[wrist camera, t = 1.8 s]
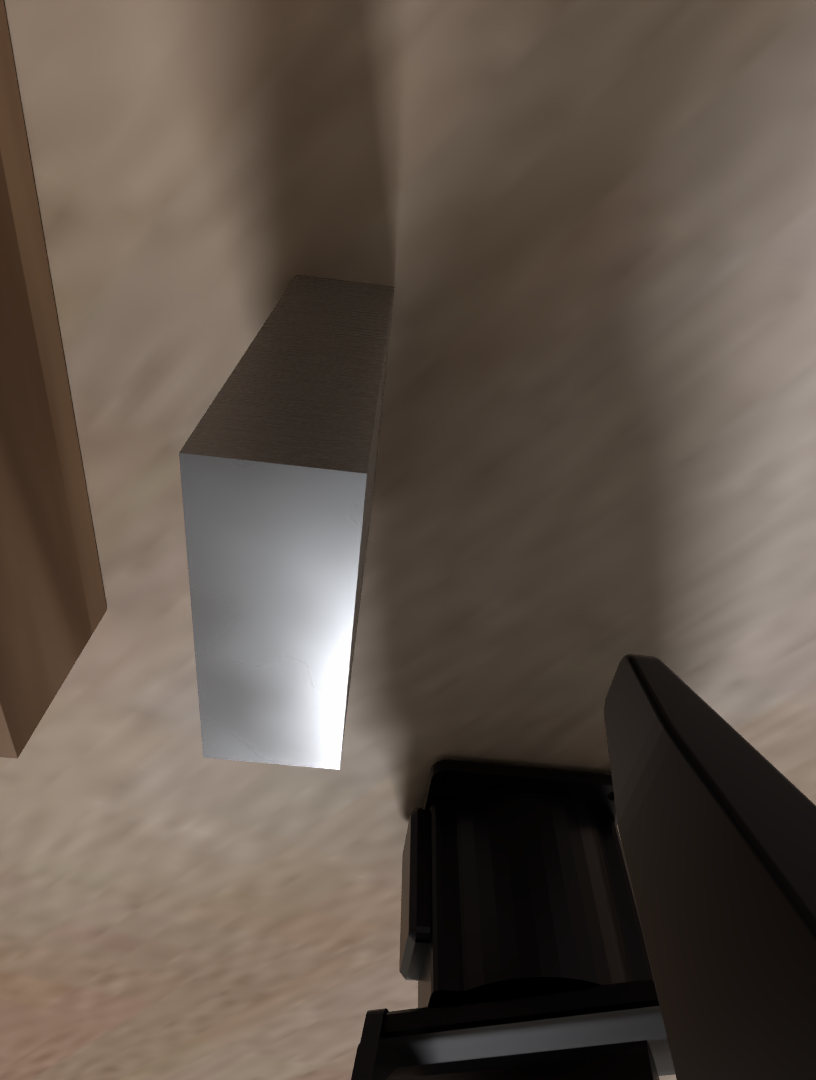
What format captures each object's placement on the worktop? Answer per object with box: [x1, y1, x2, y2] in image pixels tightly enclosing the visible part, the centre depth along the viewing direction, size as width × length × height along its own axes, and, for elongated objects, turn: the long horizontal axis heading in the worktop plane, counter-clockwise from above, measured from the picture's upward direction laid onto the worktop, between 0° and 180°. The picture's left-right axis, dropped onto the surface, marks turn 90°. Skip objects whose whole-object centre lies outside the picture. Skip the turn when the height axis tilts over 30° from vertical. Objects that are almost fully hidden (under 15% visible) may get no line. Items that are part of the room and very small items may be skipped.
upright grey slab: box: [179, 275, 394, 770], centre depth 12 cm, size 2×5×8 cm, turn 173°
